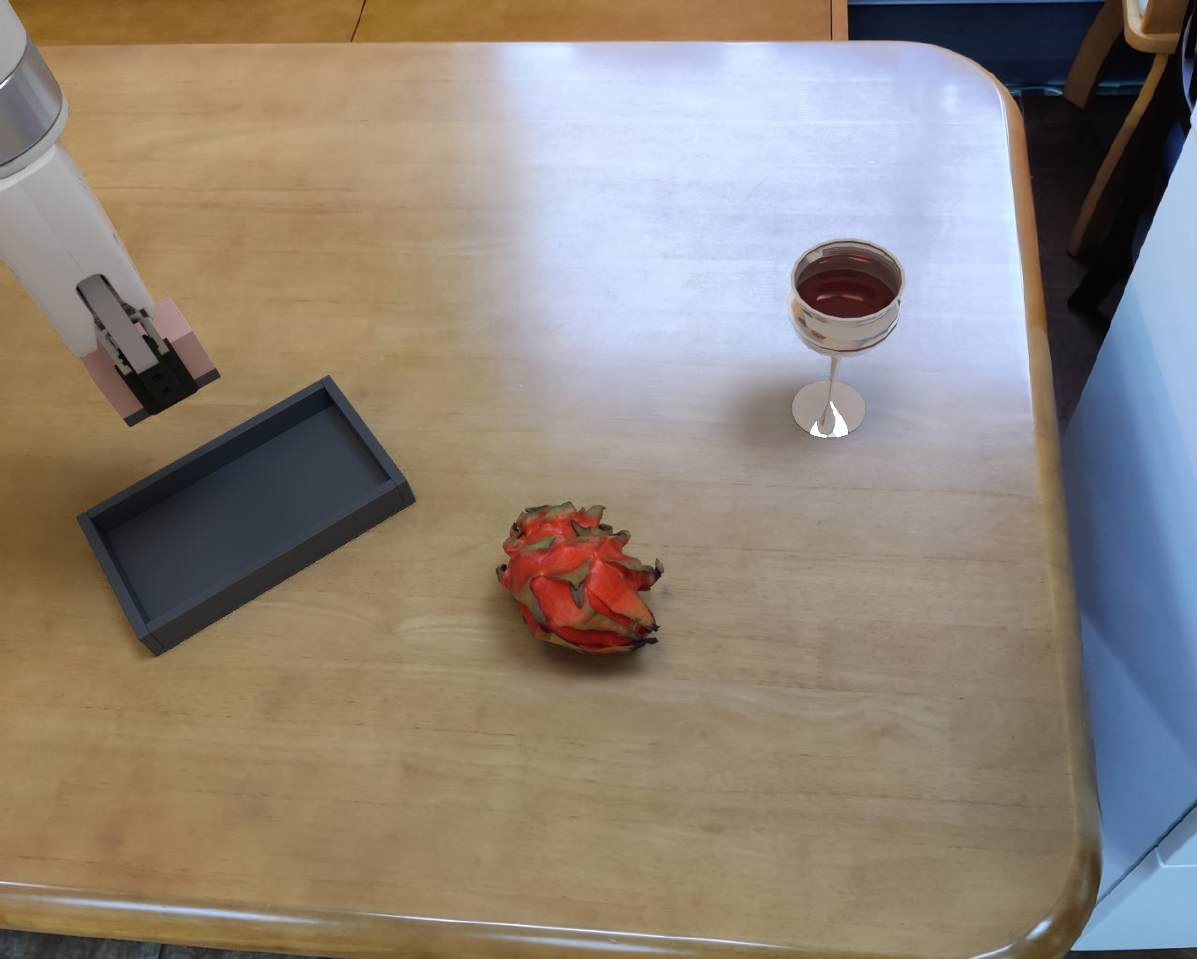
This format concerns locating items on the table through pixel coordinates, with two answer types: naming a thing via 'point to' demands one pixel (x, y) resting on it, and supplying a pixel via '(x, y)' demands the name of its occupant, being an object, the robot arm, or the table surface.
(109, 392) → the eraser
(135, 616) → the tray
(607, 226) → the table surface
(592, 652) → the dragon fruit
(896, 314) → the wineglass
